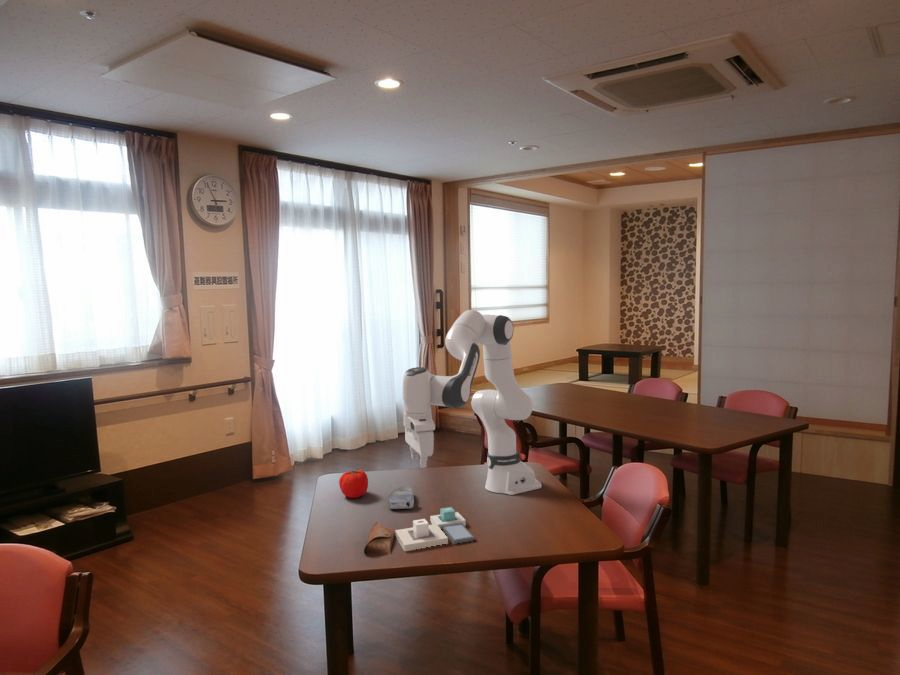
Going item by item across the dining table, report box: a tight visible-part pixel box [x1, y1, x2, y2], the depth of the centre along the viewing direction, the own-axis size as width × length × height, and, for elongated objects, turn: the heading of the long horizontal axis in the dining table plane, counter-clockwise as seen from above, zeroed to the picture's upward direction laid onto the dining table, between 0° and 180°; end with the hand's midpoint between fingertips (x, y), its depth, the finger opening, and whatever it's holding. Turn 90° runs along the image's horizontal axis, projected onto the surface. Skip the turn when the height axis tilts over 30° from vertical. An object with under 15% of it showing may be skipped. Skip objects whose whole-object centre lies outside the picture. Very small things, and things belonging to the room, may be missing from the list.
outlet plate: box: [394, 523, 449, 552], centre depth 187 cm, size 14×12×2 cm
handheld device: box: [387, 485, 415, 510], centre depth 222 cm, size 10×20×5 cm, turn 1°
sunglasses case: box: [363, 521, 396, 556], centre depth 186 cm, size 18×7×7 cm
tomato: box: [338, 467, 369, 499], centre depth 229 cm, size 11×13×10 cm
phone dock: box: [429, 511, 476, 545], centre depth 194 cm, size 10×20×2 cm, turn 19°
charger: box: [412, 518, 430, 538], centre depth 187 cm, size 4×4×6 cm
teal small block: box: [439, 506, 456, 522], centre depth 199 cm, size 4×4×5 cm
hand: (418, 463), depth 185 cm, fingers open, 8 cm apart
